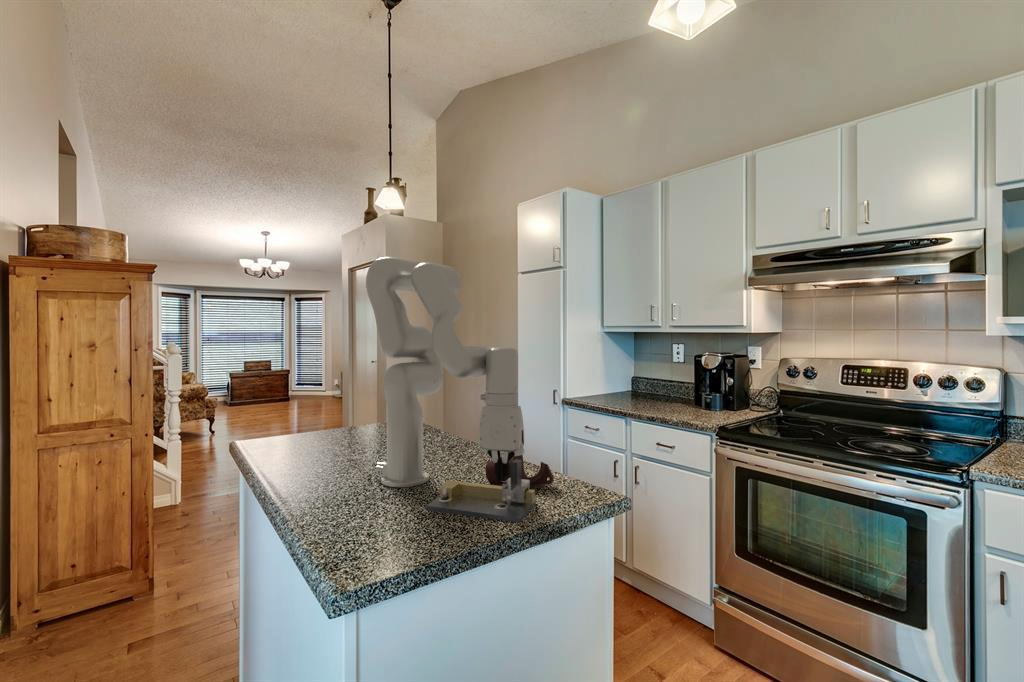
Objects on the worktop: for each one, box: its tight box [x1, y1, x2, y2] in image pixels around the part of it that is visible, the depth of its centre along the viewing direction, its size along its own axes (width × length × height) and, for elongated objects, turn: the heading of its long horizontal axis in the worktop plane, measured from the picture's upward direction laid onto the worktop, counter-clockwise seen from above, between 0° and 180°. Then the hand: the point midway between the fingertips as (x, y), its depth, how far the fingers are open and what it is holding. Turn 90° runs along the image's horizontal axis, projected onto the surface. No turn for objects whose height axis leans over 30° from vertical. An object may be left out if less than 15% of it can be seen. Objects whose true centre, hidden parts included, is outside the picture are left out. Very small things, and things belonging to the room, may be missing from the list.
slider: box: [501, 459, 531, 506], centre depth 107 cm, size 5×8×9 cm, turn 161°
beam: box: [439, 479, 536, 504], centre depth 109 cm, size 22×6×2 cm, turn 71°
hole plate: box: [425, 495, 537, 524], centre depth 107 cm, size 22×12×1 cm, turn 71°
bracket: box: [485, 454, 555, 488], centre depth 124 cm, size 6×17×10 cm, turn 76°
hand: (501, 478), depth 110 cm, fingers closed
